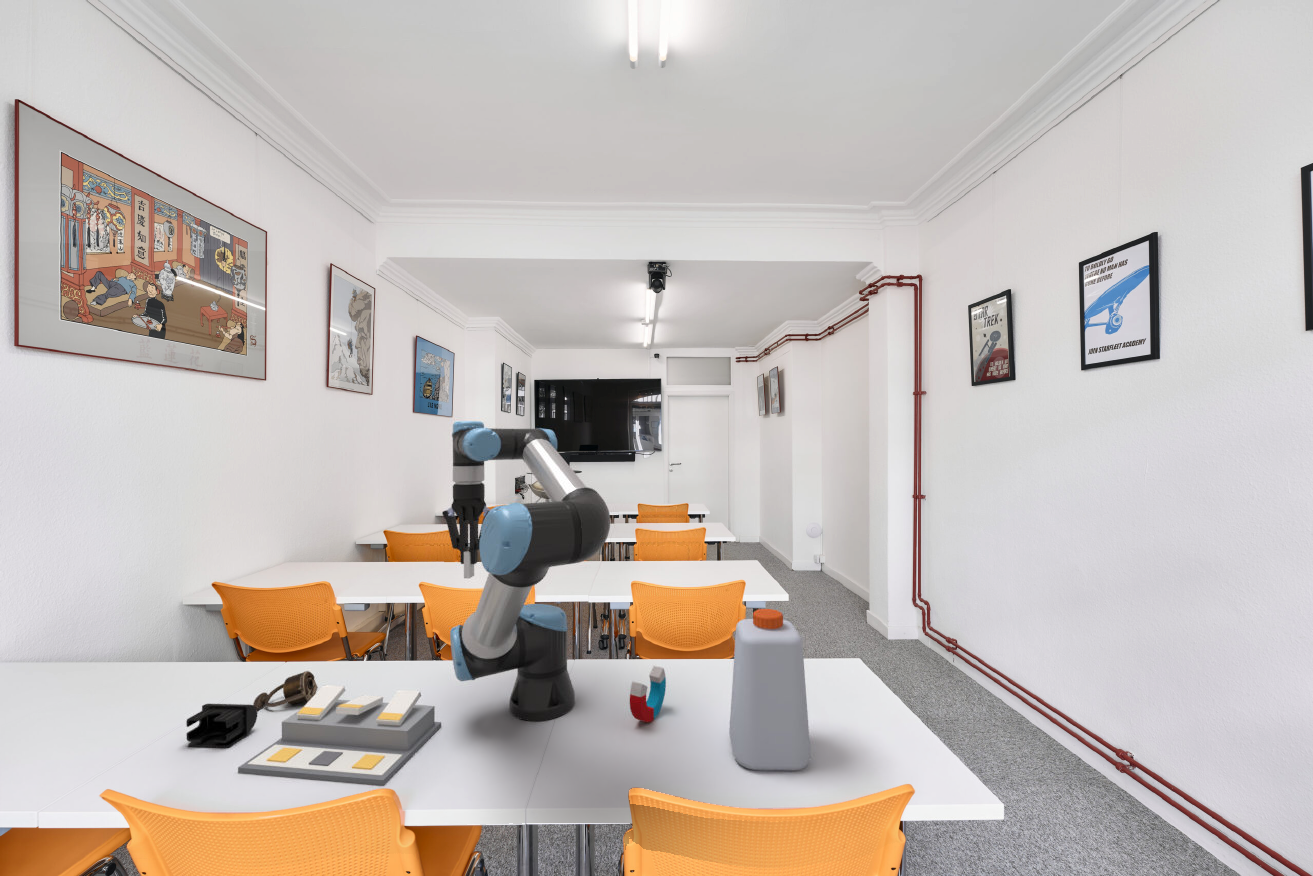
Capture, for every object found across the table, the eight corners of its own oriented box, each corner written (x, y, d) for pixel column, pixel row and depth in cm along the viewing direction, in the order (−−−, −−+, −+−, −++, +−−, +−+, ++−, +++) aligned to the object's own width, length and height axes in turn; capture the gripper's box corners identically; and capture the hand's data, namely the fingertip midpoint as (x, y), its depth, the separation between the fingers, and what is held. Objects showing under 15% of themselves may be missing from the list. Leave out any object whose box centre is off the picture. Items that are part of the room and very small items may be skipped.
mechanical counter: (296, 693, 122) (326, 665, 131) (243, 686, 123) (277, 659, 132) (298, 719, 123) (328, 690, 133) (246, 712, 124) (280, 684, 134)
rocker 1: (345, 690, 118) (344, 685, 117) (319, 720, 110) (318, 715, 110) (325, 689, 118) (323, 684, 118) (298, 718, 111) (296, 713, 110)
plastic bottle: (727, 729, 116) (726, 601, 116) (797, 730, 115) (796, 601, 115) (735, 773, 101) (735, 625, 101) (815, 774, 100) (815, 626, 100)
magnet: (656, 705, 126) (656, 663, 126) (666, 708, 125) (666, 666, 125) (629, 729, 116) (629, 683, 116) (640, 732, 114) (639, 686, 114)
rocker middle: (382, 702, 116) (383, 696, 117) (357, 715, 109) (358, 707, 109) (361, 701, 117) (362, 694, 117) (335, 713, 109) (336, 706, 110)
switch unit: (441, 726, 117) (441, 704, 117) (383, 785, 97) (383, 758, 97) (317, 717, 121) (317, 695, 121) (237, 772, 101) (237, 746, 101)
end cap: (258, 730, 116) (258, 699, 116) (230, 749, 109) (230, 716, 109) (214, 729, 117) (214, 698, 117) (184, 747, 109) (184, 715, 109)
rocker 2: (421, 695, 115) (420, 690, 115) (400, 726, 108) (398, 721, 107) (399, 694, 116) (398, 689, 116) (377, 724, 109) (376, 719, 108)
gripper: (499, 481, 136) (500, 573, 136) (450, 481, 137) (451, 572, 137) (488, 484, 128) (488, 581, 128) (436, 483, 129) (436, 580, 129)
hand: (469, 576), depth 132 cm, fingers closed
